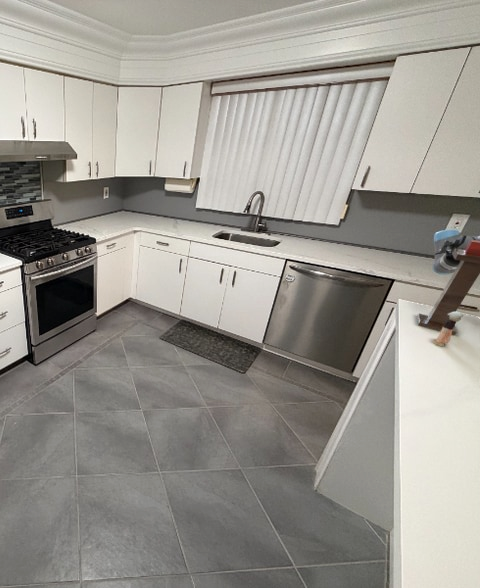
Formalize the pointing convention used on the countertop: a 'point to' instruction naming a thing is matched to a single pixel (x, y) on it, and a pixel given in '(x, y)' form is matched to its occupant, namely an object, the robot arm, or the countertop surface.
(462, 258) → the shelf stand
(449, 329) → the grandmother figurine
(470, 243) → the toy mallet
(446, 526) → the countertop surface
